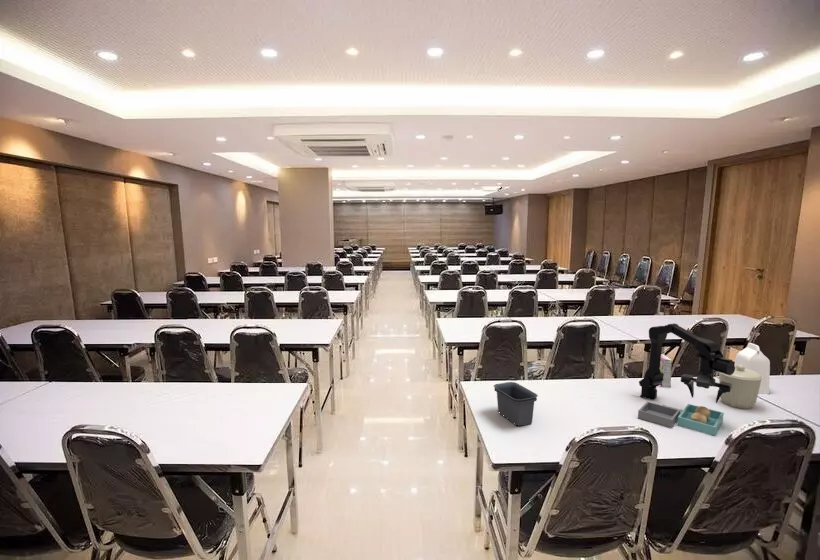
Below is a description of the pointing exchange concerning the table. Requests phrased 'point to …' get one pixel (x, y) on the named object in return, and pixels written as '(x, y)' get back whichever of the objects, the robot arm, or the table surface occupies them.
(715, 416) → the holder
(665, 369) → the candy bar box
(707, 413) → the maple ball
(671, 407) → the pattern card
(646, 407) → the tray
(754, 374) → the canister
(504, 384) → the storage bin
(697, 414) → the maple ball resting
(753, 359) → the milk
